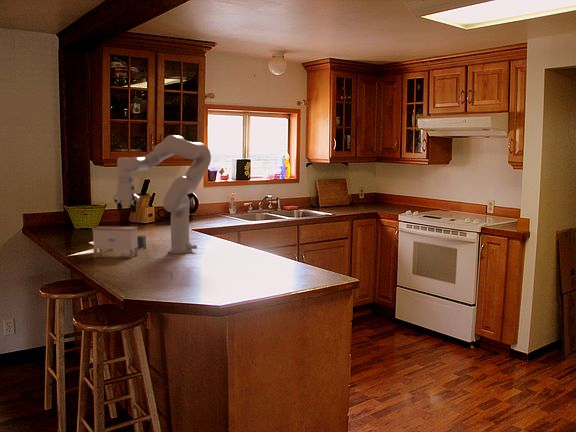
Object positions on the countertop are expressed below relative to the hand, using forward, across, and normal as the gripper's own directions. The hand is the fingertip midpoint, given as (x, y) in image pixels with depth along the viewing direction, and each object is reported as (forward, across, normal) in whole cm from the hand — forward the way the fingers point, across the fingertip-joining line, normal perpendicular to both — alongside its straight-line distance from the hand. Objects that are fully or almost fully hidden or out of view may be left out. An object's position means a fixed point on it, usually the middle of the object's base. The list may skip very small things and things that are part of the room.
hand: (126, 212), depth 311 cm
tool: (+21, -8, +2) cm, 22 cm away
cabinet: (+21, -8, +18) cm, 29 cm away
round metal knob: (+21, -13, +16) cm, 29 cm away
